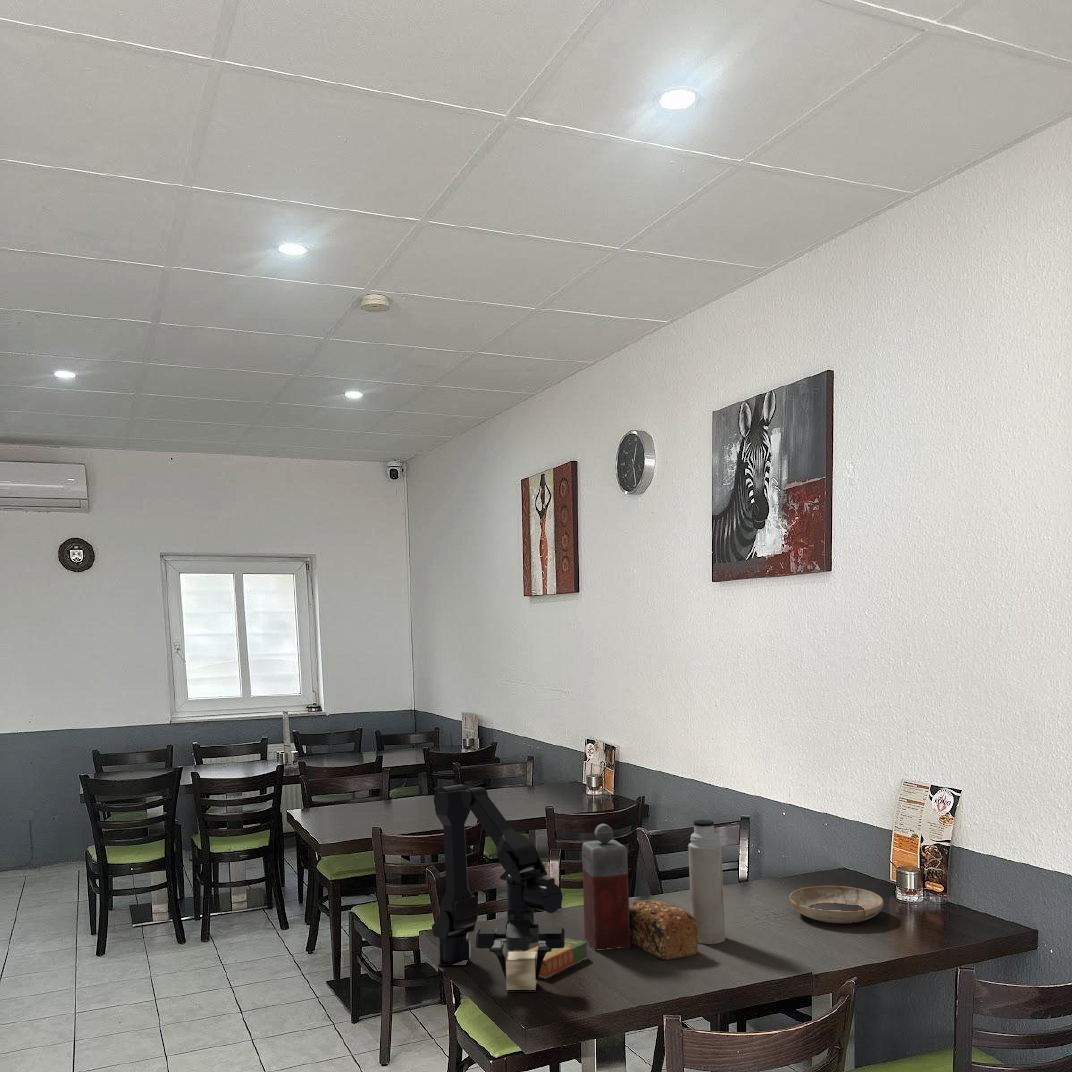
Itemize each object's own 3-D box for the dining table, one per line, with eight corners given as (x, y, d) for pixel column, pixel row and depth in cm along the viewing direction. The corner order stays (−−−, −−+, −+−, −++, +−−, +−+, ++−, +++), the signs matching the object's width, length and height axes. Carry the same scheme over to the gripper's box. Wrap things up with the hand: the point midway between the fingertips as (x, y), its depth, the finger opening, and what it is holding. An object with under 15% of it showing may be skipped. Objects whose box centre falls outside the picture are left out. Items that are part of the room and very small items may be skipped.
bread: (700, 955, 218) (698, 911, 219) (660, 963, 214) (659, 917, 215) (659, 933, 235) (657, 892, 236) (621, 939, 231) (620, 897, 232)
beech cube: (506, 990, 198) (505, 961, 199) (509, 980, 204) (508, 951, 205) (534, 990, 198) (534, 961, 198) (536, 980, 204) (536, 951, 204)
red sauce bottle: (616, 933, 236) (612, 818, 239) (630, 947, 225) (626, 826, 228) (581, 936, 234) (578, 820, 237) (594, 950, 223) (591, 829, 226)
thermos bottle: (725, 934, 233) (720, 817, 236) (725, 944, 225) (720, 824, 228) (692, 933, 235) (688, 817, 237) (691, 943, 227) (686, 823, 230)
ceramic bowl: (781, 904, 257) (780, 885, 258) (868, 903, 256) (867, 884, 257) (801, 931, 234) (800, 910, 235) (897, 930, 233) (896, 909, 234)
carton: (516, 973, 210) (516, 953, 211) (559, 953, 223) (558, 934, 224) (546, 980, 205) (545, 960, 206) (588, 959, 218) (587, 940, 219)
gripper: (472, 915, 195) (473, 993, 194) (562, 914, 194) (564, 994, 192) (478, 899, 206) (479, 974, 205) (564, 899, 205) (566, 974, 203)
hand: (521, 979), depth 201 cm, fingers closed on beech cube, 6 cm apart
